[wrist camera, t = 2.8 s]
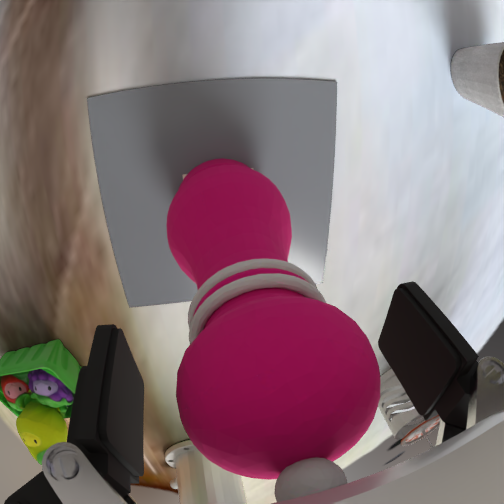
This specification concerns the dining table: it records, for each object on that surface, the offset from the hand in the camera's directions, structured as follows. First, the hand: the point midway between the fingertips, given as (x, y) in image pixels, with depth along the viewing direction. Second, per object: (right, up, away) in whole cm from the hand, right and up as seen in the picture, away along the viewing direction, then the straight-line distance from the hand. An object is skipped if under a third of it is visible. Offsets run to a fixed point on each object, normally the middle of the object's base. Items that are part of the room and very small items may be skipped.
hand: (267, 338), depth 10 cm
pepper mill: (-3, +7, +12) cm, 14 cm away
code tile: (-3, +7, +12) cm, 14 cm away
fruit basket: (-23, -9, +17) cm, 30 cm away
